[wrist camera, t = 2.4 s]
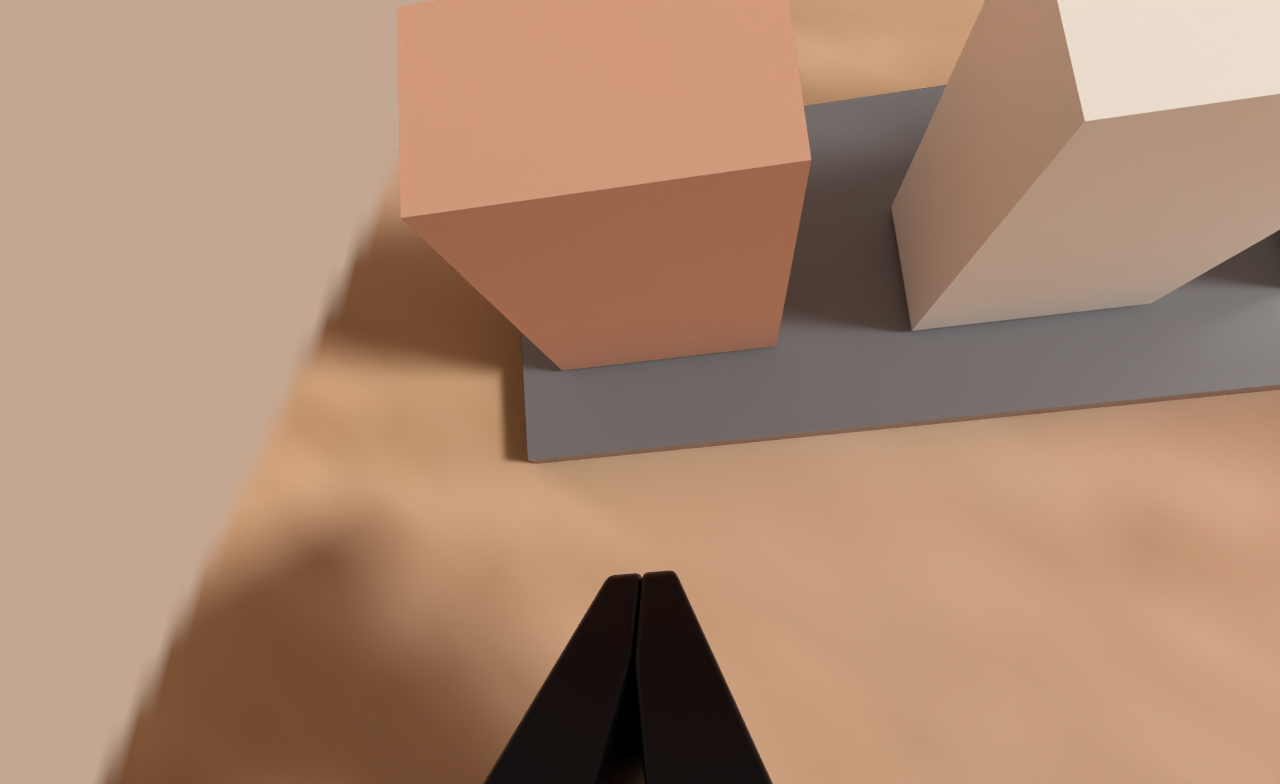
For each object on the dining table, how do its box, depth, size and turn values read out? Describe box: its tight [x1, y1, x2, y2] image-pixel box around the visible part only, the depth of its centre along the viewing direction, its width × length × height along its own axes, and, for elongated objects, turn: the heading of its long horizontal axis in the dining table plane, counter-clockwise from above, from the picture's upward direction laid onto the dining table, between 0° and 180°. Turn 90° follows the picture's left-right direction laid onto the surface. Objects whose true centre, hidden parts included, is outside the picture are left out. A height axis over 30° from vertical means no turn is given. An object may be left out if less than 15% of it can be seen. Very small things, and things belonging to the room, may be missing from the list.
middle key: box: [891, 0, 1280, 331], centre depth 12 cm, size 3×5×8 cm, turn 95°
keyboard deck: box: [521, 85, 1280, 464], centre depth 17 cm, size 8×23×1 cm, turn 95°
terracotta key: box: [397, 0, 811, 371], centre depth 13 cm, size 3×5×8 cm, turn 95°
